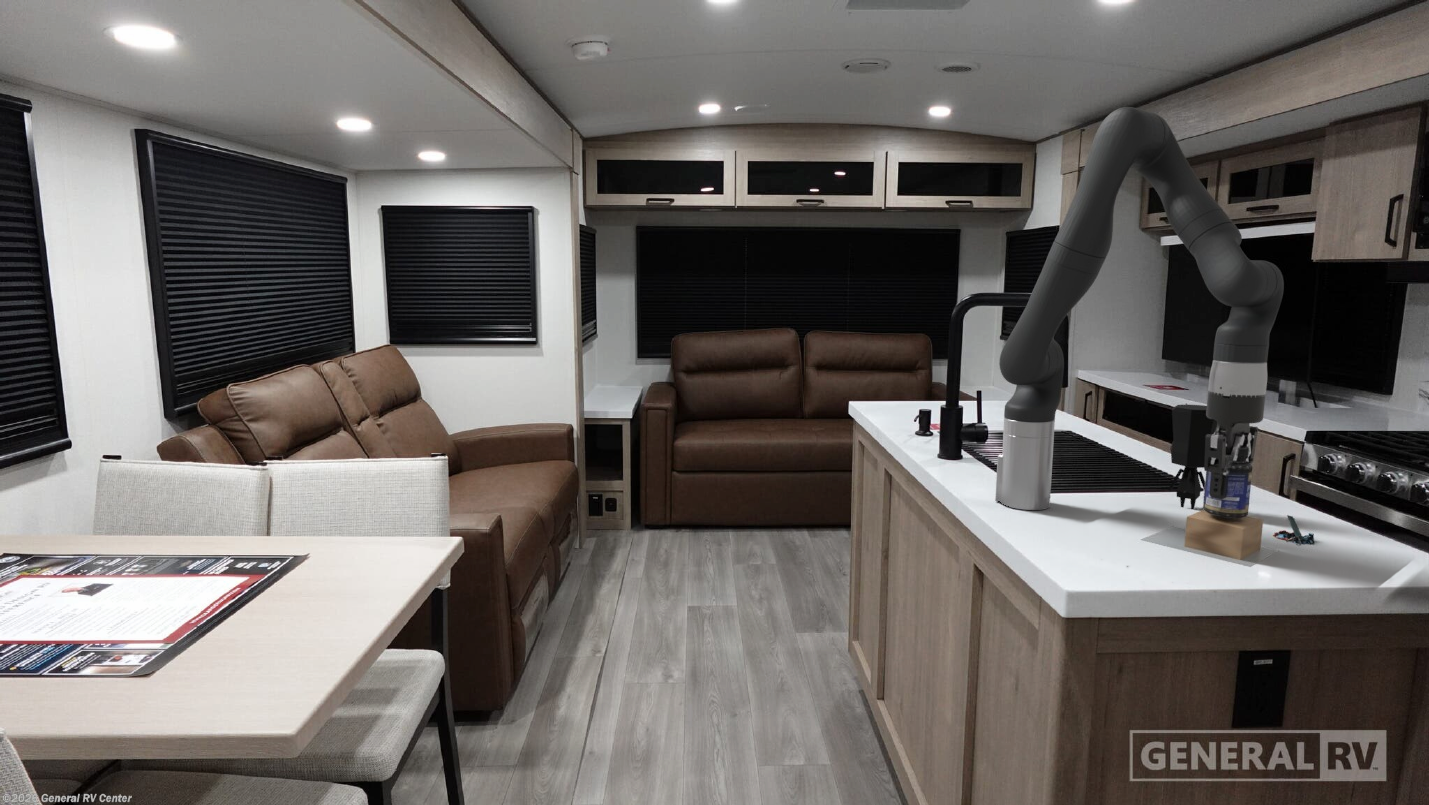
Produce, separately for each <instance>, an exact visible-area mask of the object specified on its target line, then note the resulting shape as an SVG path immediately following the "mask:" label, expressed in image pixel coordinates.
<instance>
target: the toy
mask: <svg viewBox="0 0 1429 805" xmlns="http://www.w3.org/2000/svg"><path fill="white" fill-rule="evenodd" d="M1206 409H1207V405H1203V404H1188V403H1185V404H1176V406H1174V407H1173V408H1172V409H1171V415H1172V416H1171V417H1172V418H1171V419H1172V438H1173V441H1172V442H1171V445H1170V447H1169V449H1170V454H1171V456H1170V458H1171V464H1175V465H1179V466H1182V467H1184V469H1183V468H1179V470H1178V472H1177V473H1176V474H1175V477H1174V478H1173V480H1172V481H1171V484H1170V485H1169V487H1168V489H1167V490H1168V491H1169V492H1170V491H1172V490H1173V488H1174V487H1175V484H1176V483H1177V481H1178V480H1179V478H1180V476H1181V478H1180V480H1179V482H1178V485H1177V488H1176V498H1180V499H1179V500H1180V507H1181V508H1184V506H1185V502H1186V500H1187V499H1188V500H1190V509H1191V510H1195V506H1196V500H1197V499H1198V498H1199V497H1200V496H1201V492H1202V487H1203V490H1205V478H1204V475H1203V472H1202V471H1201V470H1200V471H1198V468H1199V469H1200V468H1202V469H1204V462H1205V437H1206V435H1207V434H1212V435H1214V432H1215V431H1216V427H1217V424H1218V423H1217V421H1216V420H1212V419H1209V418H1208V417H1207V416H1206ZM1201 486H1202V487H1201Z"/></svg>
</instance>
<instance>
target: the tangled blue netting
mask: <svg viewBox="0 0 1429 805" xmlns="http://www.w3.org/2000/svg"><path fill="white" fill-rule="evenodd" d="M1286 516H1287V520H1288V522H1289V524H1290V527H1291V529H1292V531H1293V532H1289V531H1287V530H1285V529H1283V530H1279V531H1278V532H1274V534H1272V536H1273V537H1274V538H1276V539H1279V540H1282V541H1286V543H1289V542H1290V543H1293V544H1295V545H1296V546H1302V545H1304V546H1305V545H1310V546H1311V545H1312V546H1314V544H1315V538H1314V536H1315V534H1314V533H1312V532H1308V535H1307V534H1306V535H1303V534H1302V533H1301V530H1300V529H1299V527H1298V524H1297V522H1296V519H1295V518H1294V517H1293V515H1292V516H1291V515H1289V514H1287V515H1286Z"/></svg>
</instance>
